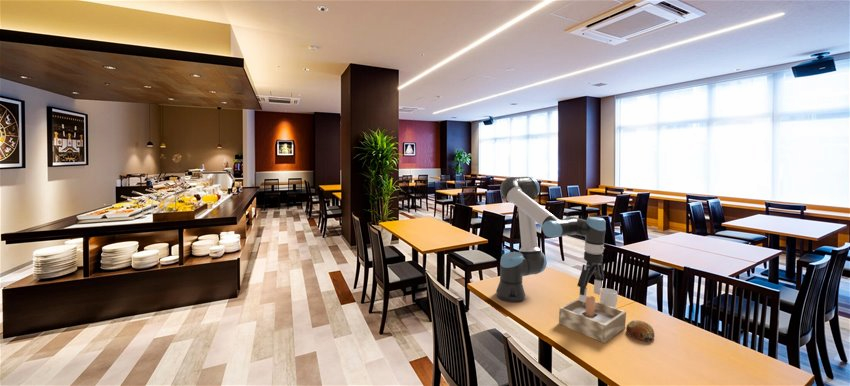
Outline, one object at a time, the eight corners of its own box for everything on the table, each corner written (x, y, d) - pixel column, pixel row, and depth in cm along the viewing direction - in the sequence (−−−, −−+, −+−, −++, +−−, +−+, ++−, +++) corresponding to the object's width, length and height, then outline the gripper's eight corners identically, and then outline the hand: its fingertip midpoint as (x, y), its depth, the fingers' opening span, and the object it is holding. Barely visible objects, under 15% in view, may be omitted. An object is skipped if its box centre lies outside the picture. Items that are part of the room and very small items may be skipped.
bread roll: (650, 342, 143) (649, 322, 146) (658, 343, 134) (657, 322, 136) (624, 337, 146) (623, 318, 149) (630, 339, 137) (630, 318, 140)
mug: (608, 319, 155) (610, 294, 154) (596, 313, 161) (597, 289, 160) (622, 315, 159) (624, 291, 158) (609, 309, 165) (611, 286, 164)
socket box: (558, 323, 151) (559, 307, 150) (580, 311, 163) (581, 296, 162) (604, 343, 135) (605, 325, 134) (625, 327, 148) (626, 311, 147)
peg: (583, 322, 152) (584, 297, 151) (587, 320, 155) (588, 295, 153) (591, 325, 150) (592, 299, 148) (595, 323, 152) (596, 297, 150)
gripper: (588, 259, 138) (584, 308, 141) (614, 249, 153) (610, 293, 156) (571, 254, 144) (567, 301, 146) (598, 245, 159) (594, 288, 162)
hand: (589, 297), depth 151 cm, fingers open, 13 cm apart
